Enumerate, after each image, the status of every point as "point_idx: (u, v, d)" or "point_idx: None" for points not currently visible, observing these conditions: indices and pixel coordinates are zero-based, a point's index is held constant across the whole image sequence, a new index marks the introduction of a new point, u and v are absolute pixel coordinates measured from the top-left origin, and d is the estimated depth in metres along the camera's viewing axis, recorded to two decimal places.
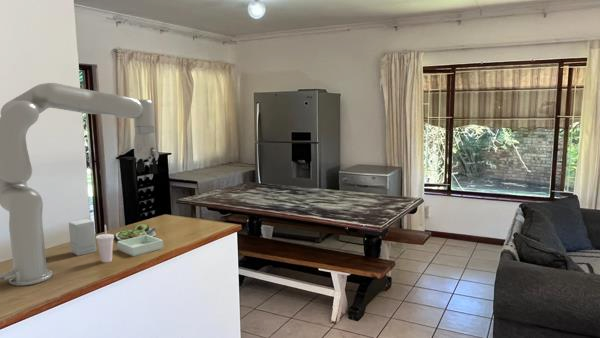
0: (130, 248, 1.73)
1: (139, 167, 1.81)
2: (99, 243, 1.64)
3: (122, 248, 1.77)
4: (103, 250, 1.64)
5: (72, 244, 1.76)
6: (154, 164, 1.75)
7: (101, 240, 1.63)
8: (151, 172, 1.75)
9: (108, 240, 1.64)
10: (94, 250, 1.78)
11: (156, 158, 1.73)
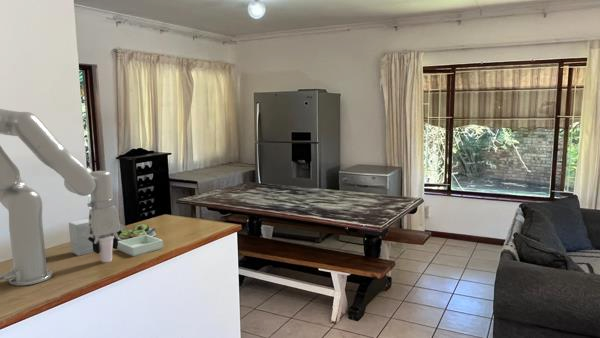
0: (130, 248, 1.73)
1: None
2: (99, 243, 1.64)
3: (122, 248, 1.77)
4: (103, 250, 1.64)
5: (72, 244, 1.76)
6: None
7: (101, 240, 1.63)
8: None
9: (108, 240, 1.64)
10: None
11: None
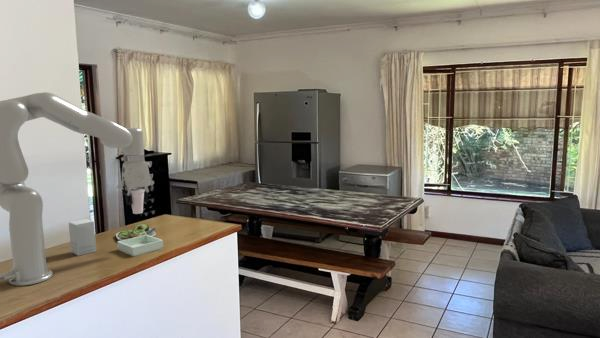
0: (130, 248, 1.73)
1: None
2: (131, 195, 1.75)
3: (122, 248, 1.77)
4: (135, 202, 1.76)
5: (72, 244, 1.76)
6: None
7: (133, 192, 1.75)
8: None
9: (140, 193, 1.76)
10: (94, 250, 1.78)
11: None
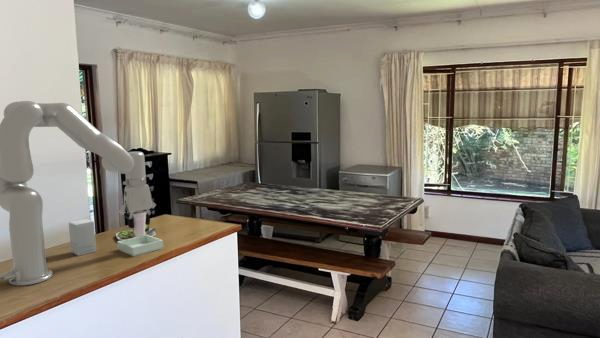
0: (130, 248, 1.73)
1: None
2: (133, 218, 1.77)
3: (122, 248, 1.77)
4: (137, 225, 1.77)
5: (72, 244, 1.76)
6: None
7: (135, 216, 1.76)
8: None
9: (142, 216, 1.77)
10: (94, 250, 1.78)
11: None
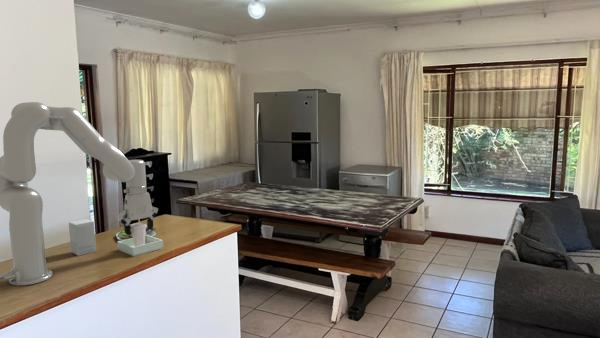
0: (130, 248, 1.73)
1: None
2: (133, 231, 1.77)
3: (122, 248, 1.77)
4: (137, 238, 1.78)
5: (72, 244, 1.76)
6: None
7: (135, 228, 1.76)
8: None
9: (141, 228, 1.78)
10: (94, 250, 1.78)
11: None
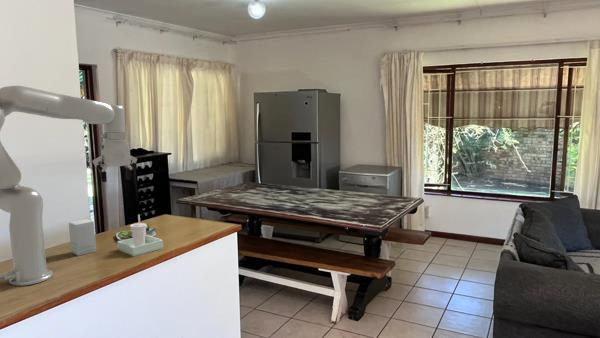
0: (130, 248, 1.73)
1: None
2: (133, 231, 1.77)
3: (122, 248, 1.77)
4: (137, 238, 1.78)
5: (72, 244, 1.76)
6: None
7: (135, 228, 1.76)
8: None
9: (141, 228, 1.78)
10: (94, 250, 1.78)
11: None
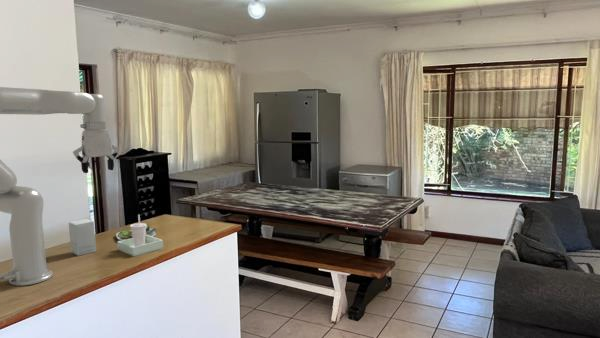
0: (130, 248, 1.73)
1: None
2: (133, 231, 1.77)
3: (122, 248, 1.77)
4: (137, 238, 1.78)
5: (72, 244, 1.76)
6: None
7: (135, 228, 1.76)
8: None
9: (141, 228, 1.77)
10: (94, 250, 1.78)
11: None
